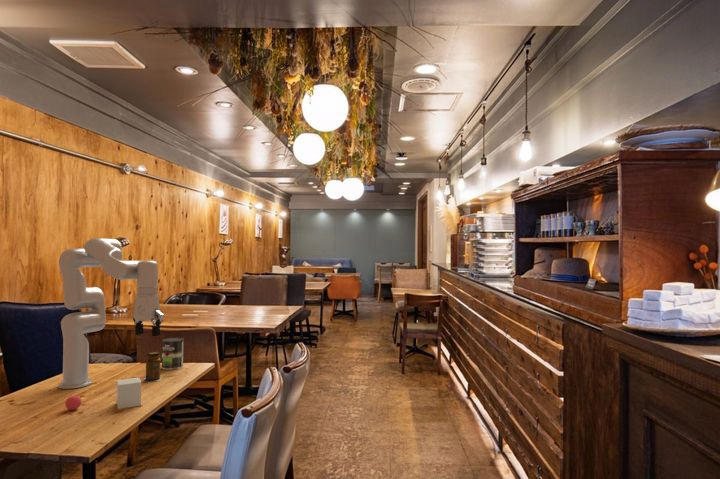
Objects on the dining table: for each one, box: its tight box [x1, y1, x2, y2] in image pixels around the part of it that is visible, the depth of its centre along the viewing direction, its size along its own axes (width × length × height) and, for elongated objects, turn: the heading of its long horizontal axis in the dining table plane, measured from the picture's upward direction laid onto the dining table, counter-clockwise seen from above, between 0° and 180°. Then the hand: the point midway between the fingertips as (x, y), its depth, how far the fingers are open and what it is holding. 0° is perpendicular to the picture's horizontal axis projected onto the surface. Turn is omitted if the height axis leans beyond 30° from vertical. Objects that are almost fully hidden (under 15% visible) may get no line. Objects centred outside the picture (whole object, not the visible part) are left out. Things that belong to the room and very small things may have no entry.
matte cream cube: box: [116, 376, 142, 410], centre depth 171 cm, size 8×8×9 cm
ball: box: [64, 395, 82, 411], centre depth 165 cm, size 5×5×5 cm
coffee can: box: [160, 337, 185, 371], centre depth 227 cm, size 10×10×14 cm
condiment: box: [143, 351, 162, 383], centre depth 205 cm, size 7×8×12 cm
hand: (147, 334), depth 177 cm, fingers open, 9 cm apart
